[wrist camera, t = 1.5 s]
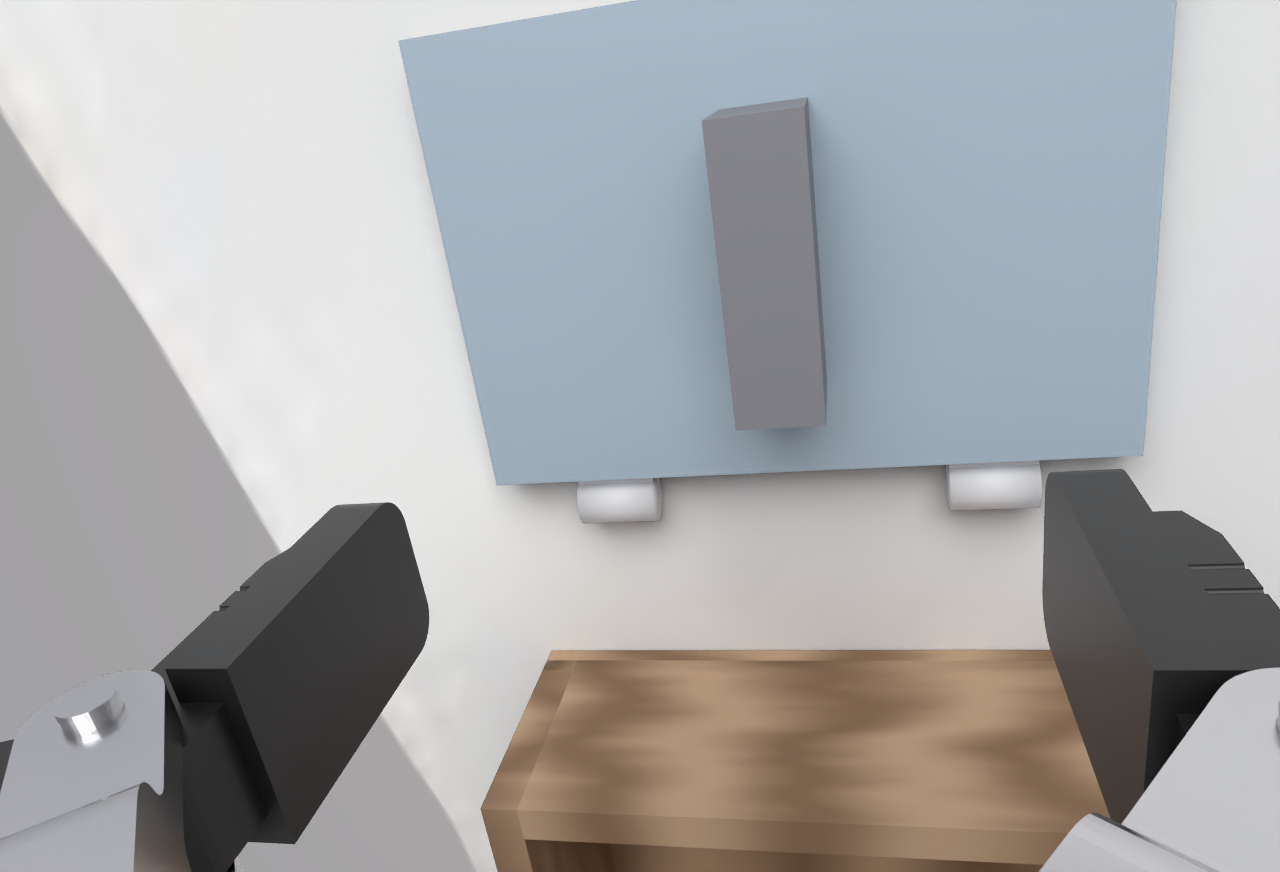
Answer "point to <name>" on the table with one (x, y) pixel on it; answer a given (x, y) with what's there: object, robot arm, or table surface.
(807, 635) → the table surface
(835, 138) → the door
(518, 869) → the brown wooden open box
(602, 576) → the table surface
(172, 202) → the table surface
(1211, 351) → the table surface
